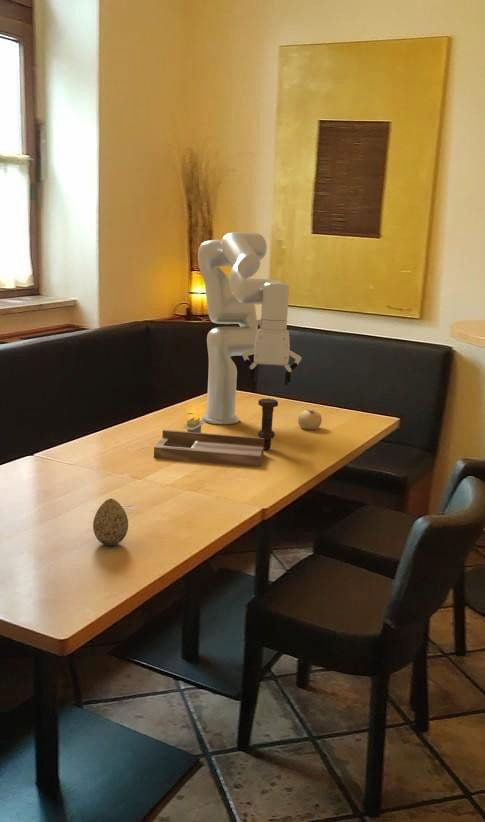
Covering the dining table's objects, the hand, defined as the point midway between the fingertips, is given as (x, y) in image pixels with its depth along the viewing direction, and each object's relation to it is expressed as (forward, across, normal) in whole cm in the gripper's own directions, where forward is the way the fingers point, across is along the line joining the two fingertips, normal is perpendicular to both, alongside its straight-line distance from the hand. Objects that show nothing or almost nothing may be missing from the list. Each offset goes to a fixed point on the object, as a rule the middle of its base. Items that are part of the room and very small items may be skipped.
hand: (270, 383), depth 238 cm
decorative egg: (+20, -25, -80) cm, 86 cm away
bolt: (+20, 0, 0) cm, 20 cm away
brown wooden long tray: (+20, -15, -12) cm, 28 cm away
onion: (+20, +12, +29) cm, 37 cm away
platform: (+21, -23, +5) cm, 32 cm away
